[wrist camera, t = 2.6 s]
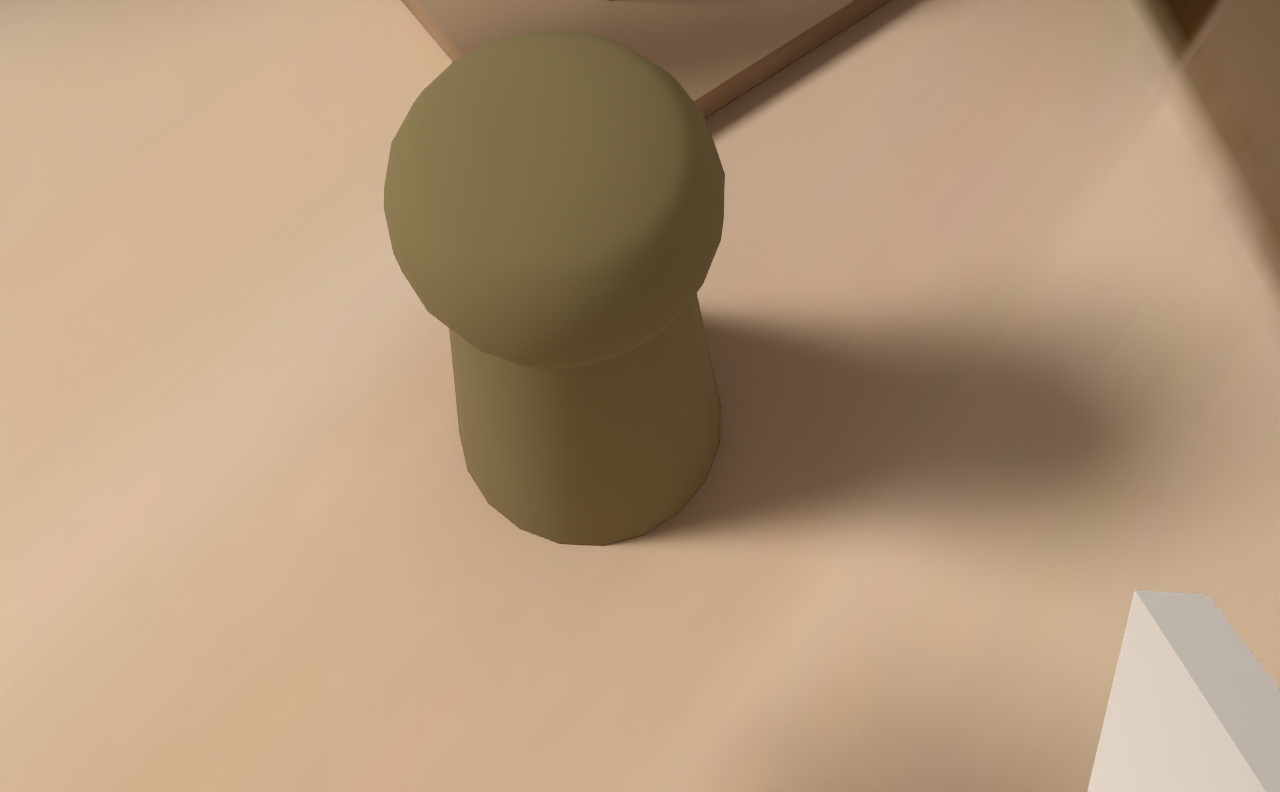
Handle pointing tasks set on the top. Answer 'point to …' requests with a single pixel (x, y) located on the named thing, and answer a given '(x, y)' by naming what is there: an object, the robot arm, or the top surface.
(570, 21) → the collar
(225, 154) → the top surface
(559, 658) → the top surface
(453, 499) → the top surface
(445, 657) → the top surface
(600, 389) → the cork
